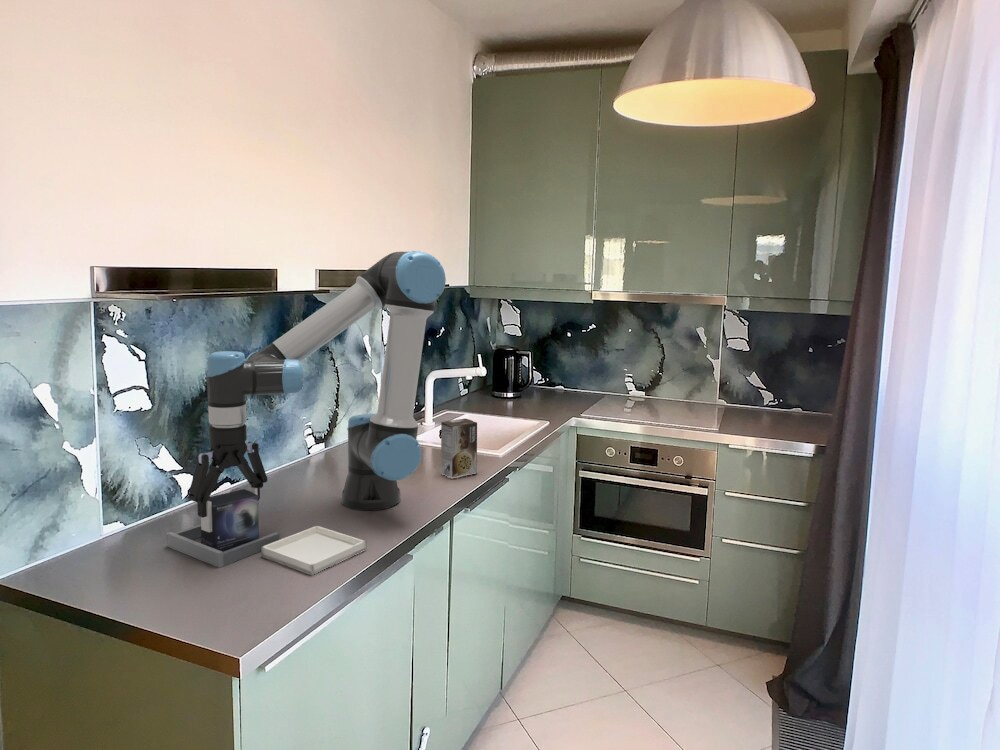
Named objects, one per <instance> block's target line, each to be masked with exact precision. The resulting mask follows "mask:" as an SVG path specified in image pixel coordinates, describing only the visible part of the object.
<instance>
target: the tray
mask: <svg viewBox="0 0 1000 750" xmlns="http://www.w3.org/2000/svg"><path fill="white" fill-rule="evenodd" d="M363 550H366V551H367V540H363V539H361V538H357V537H354V536H351V535H348V534H344V533H341V532H338V531H336V530H332V529H329V528H326V527H323V526H319V525H314V526H312V527H310V528H307V529H305V530H302V531H299V532H297V533H294V534H291V535H289V536H286V537H283V538H281V539H279V540H278V541H275V542H273V543H270V544H268V545H265V546H262V547H261V552H260V553H261V558H264V559H267V560H268V561H271V562H274V563H277V564H280V565H283V566H285V567H288V568H291V569H293V570H296V571H299V572H301V573H304V574H306V575H309V576H315V575H316V574H319V573H321V572H323V571H325V570H327V569H326V568H328V567H330V566H332V565H334V564H336V563H338V562H340V561H342V560H344V559H346V558H349V557H351V556H353V555H355V554H357V553H360V552H361V551H363ZM360 554H361V553H360ZM336 565H337V564H336ZM334 566H335V565H334ZM332 567H333V566H332ZM330 568H331V567H330ZM324 569H325V570H324ZM328 569H329V568H328ZM322 570H323V571H322ZM320 571H321V572H320ZM318 572H319V573H318ZM314 574H315V575H314Z"/></svg>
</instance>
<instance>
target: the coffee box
mask: <svg viewBox="0 0 1000 750" xmlns="http://www.w3.org/2000/svg"><path fill="white" fill-rule="evenodd" d="M440 427H441V428H440V429H441V430H440V431H441V432H440V434H441V435H440V436H441V437H440V474H441V473H443V474H445V475H447V476H450V477H457V476H461V475H466V474H472V473H478V422H477V421H474V420H472V419H469V418H461V419H460V418H459V419H453V420H447V421H441V425H440Z"/></svg>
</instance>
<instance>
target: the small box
mask: <svg viewBox="0 0 1000 750" xmlns="http://www.w3.org/2000/svg"><path fill="white" fill-rule="evenodd" d="M208 501H211V504H212V532H206V531H204V530H201V537H200V539H201V541H200V543H201V544H204V545H206V546H209V547H211V548H214V549H217V550H219V551H222V552H223V551H226V550H230V549H232V548H235V547H238V546H241V545H243V544H246V543H249V542H251V541H254V540H257V539H259V538H260V528H259V527H260V524H259V523H260V521H259V520H260V519H259V517H260V516H259V514H260V513H259V512H260V511H259V500H258V495H256V494H254V493H252V492H249V491H247V489H246V488H242V489H239V490H234V491H230V492H227V493H221V494H217V495H211V496H210V497H209V499H208Z"/></svg>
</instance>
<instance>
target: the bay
mask: <svg viewBox="0 0 1000 750" xmlns="http://www.w3.org/2000/svg"><path fill="white" fill-rule="evenodd" d="M165 535H166V547H167V548H170V549H172V550H174V551H177V552H180V553H182V554H185V555H187V556H190V557H192V558H195V559H197V560H199V561H201V562H203V563H206V564H209V565H212V566H214V567H215V568H222V567H224V566H225V567H226V566H227V565H230V564H232V563H235V562H238V561H240V560H242V559H245V558H248V557H251V556H253V555H255V554H258V553H261V547H262V546H265V545H268V544H270V543H273V542H275V541H278V540H280V533H279V532H272V533H270V534H268V535H265V536H262V537H259V539H257V540H254V541H251V542H249V543H246V544H242V545H239V546H235V547H232V548H229V549H226V550H222V551H219V550H217V549H214V548H211V547H209V546H206V545H204V544H201V542H198V541H195V540H196V539H199V538H200V539H201V523H200V524H198V525H195V526H192V527H189V528H186V529H183V530H179V531H177V532H176V531H175V532H172V531H170V532H166V534H165Z"/></svg>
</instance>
